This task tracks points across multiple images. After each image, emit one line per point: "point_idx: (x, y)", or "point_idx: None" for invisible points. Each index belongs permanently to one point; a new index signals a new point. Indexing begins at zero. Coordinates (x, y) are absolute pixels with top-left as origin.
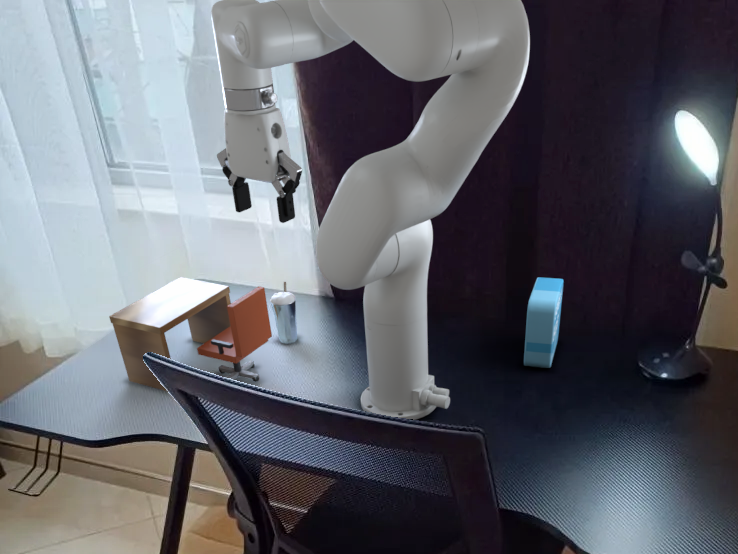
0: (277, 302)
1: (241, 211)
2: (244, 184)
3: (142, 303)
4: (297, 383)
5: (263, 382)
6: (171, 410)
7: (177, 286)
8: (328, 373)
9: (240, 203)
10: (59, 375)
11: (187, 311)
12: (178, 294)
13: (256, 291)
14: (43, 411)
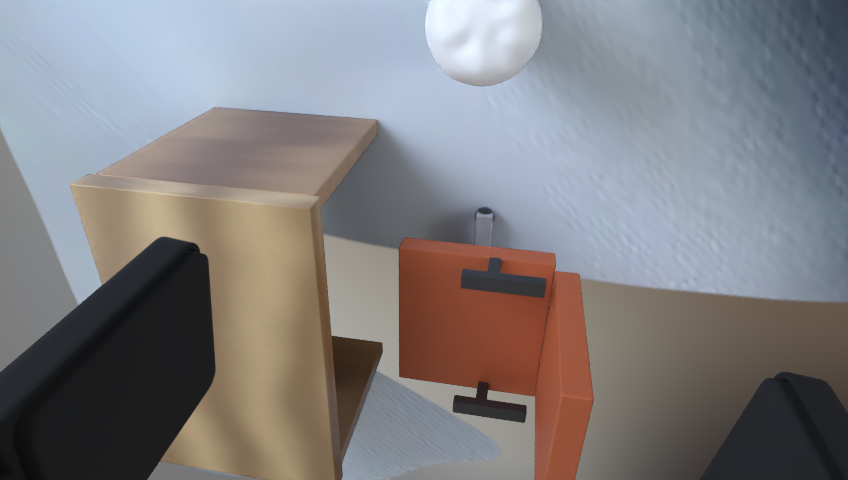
0: (487, 84)
1: (213, 358)
2: (19, 469)
3: None
4: (657, 243)
5: (557, 263)
6: (422, 401)
7: None
8: (735, 167)
9: (175, 408)
10: None
11: (329, 407)
12: None
13: (580, 436)
14: None
